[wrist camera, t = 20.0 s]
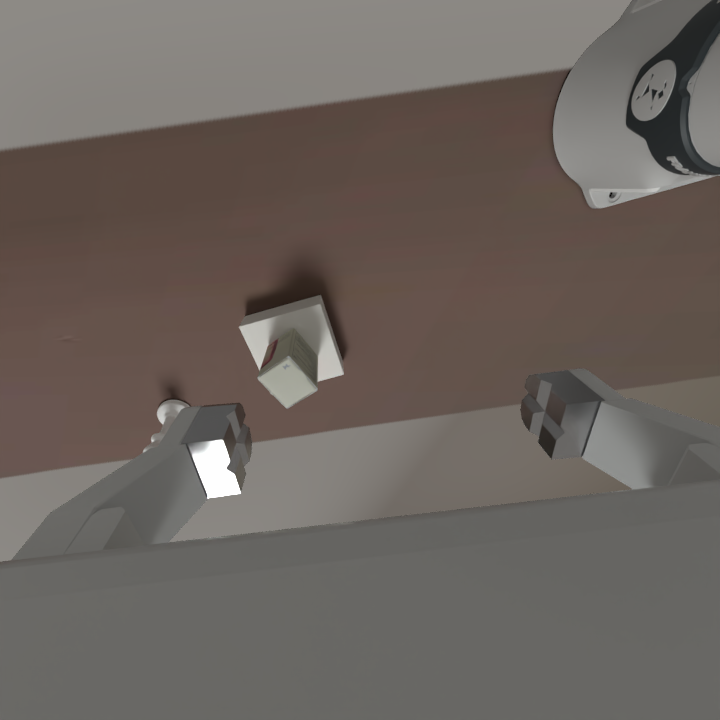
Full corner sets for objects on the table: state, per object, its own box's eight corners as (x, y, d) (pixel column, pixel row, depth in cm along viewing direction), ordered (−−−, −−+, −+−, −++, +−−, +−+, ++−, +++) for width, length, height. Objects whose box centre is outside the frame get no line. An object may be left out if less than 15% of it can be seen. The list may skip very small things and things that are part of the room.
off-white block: (320, 293, 44) (320, 303, 40) (342, 359, 48) (343, 374, 45) (246, 314, 44) (239, 326, 41) (275, 378, 49) (270, 394, 45)
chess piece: (182, 432, 51) (152, 485, 43) (151, 414, 49) (113, 466, 41) (201, 412, 50) (174, 463, 41) (171, 393, 48) (135, 442, 39)
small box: (266, 345, 42) (254, 377, 35) (294, 326, 41) (288, 355, 34) (292, 374, 44) (286, 410, 37) (319, 357, 43) (318, 390, 36)
